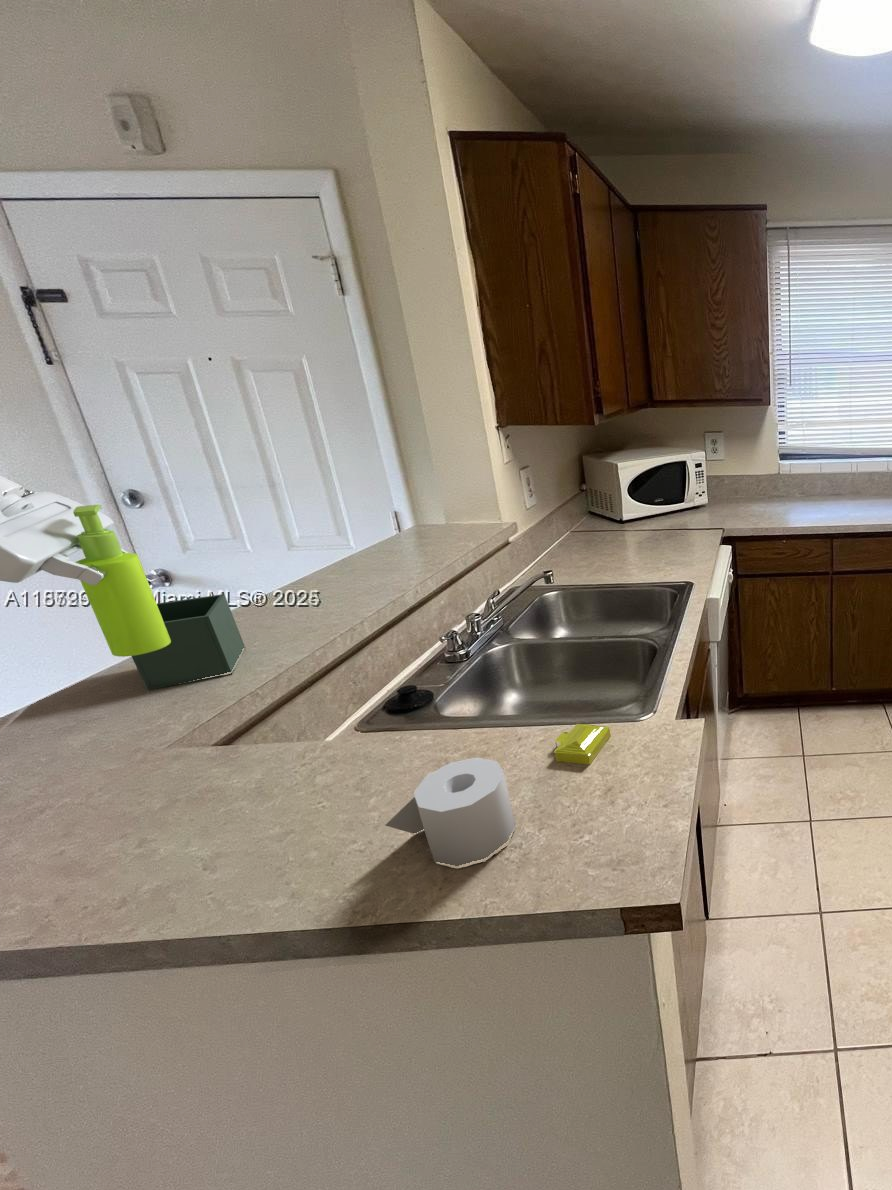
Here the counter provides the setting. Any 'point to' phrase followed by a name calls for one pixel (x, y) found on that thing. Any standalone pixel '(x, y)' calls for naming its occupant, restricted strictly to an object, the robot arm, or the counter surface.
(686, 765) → the counter surface
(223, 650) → the trash bin
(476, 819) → the toilet tissue
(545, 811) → the counter surface
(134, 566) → the soap dispenser
